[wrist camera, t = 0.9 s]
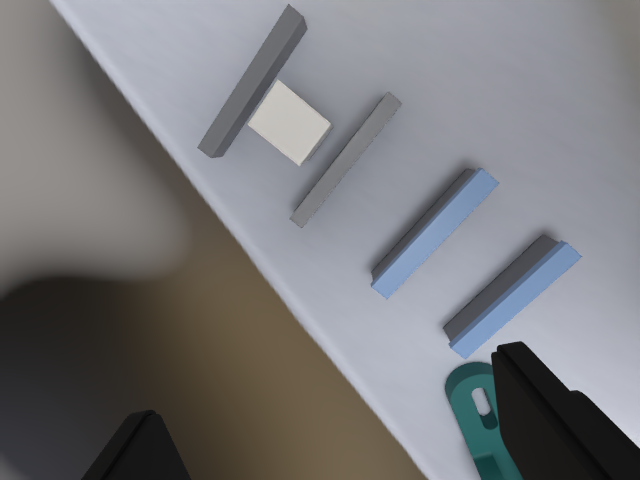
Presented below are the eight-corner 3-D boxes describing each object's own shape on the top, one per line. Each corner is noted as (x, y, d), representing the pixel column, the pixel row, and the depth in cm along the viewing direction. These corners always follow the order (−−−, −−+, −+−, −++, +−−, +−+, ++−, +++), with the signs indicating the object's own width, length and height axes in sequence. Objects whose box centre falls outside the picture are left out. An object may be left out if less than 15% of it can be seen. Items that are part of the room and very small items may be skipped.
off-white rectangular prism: (291, 92, 31) (277, 79, 24) (333, 127, 32) (331, 123, 25) (267, 128, 32) (247, 124, 25) (308, 160, 33) (299, 166, 26)
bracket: (534, 466, 42) (576, 537, 34) (481, 479, 43) (511, 551, 36) (494, 353, 38) (532, 406, 30) (436, 371, 39) (459, 427, 31)
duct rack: (295, 15, 29) (288, -3, 25) (556, 243, 33) (582, 256, 30) (208, 148, 33) (192, 149, 29) (453, 337, 37) (465, 359, 34)
